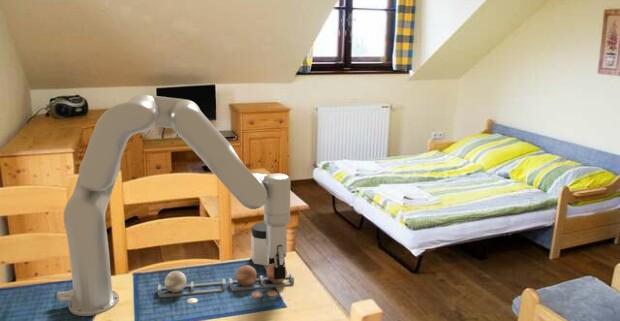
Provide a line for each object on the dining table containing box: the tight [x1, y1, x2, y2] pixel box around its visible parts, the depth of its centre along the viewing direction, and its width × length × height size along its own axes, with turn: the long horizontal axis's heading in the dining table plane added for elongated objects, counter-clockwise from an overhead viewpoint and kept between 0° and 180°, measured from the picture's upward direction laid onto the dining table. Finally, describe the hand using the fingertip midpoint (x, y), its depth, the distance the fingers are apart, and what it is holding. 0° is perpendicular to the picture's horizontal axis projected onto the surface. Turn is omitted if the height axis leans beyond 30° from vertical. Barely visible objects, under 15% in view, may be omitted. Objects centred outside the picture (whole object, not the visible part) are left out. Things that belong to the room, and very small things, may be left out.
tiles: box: [186, 290, 279, 305], centre depth 142 cm, size 29×4×1 cm, turn 103°
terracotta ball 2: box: [266, 263, 288, 284], centre depth 150 cm, size 6×6×6 cm
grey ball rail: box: [157, 272, 295, 298], centre depth 148 cm, size 39×5×2 cm, turn 103°
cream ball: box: [164, 270, 187, 293], centre depth 144 cm, size 6×6×6 cm
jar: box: [250, 221, 271, 266], centre depth 165 cm, size 9×8×12 cm
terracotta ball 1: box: [235, 264, 258, 286], centre depth 148 cm, size 6×6×6 cm
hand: (276, 271), depth 150 cm, fingers open, 9 cm apart
